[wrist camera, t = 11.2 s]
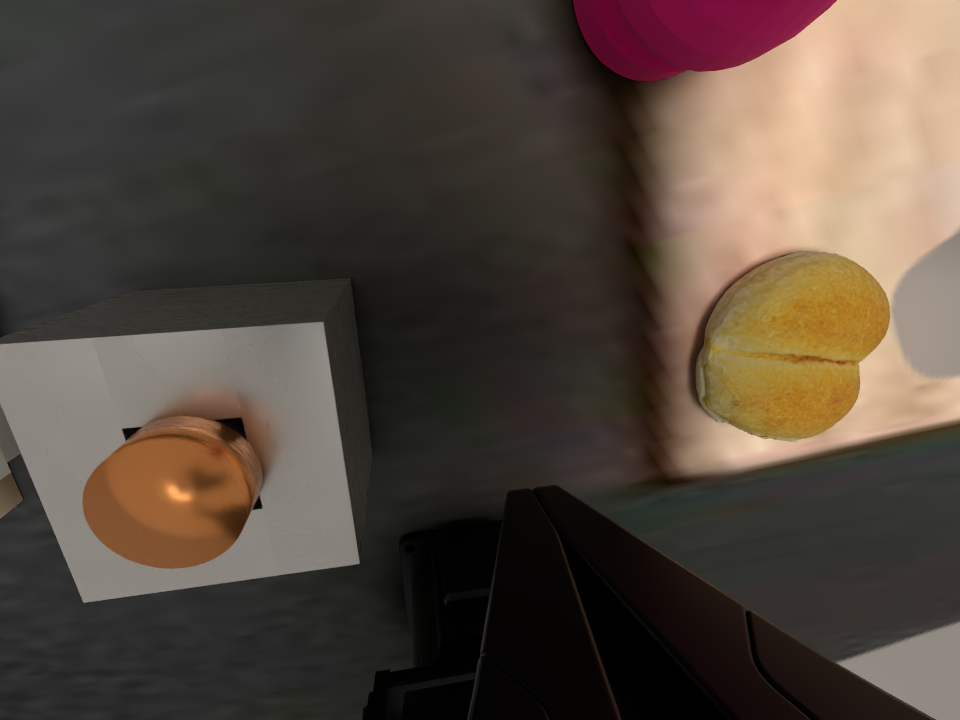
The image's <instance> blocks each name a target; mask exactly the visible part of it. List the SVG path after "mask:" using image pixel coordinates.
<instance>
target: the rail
mask: <svg viewBox="0 0 960 720" xmlns="http://www.w3.org/2000/svg"><path fill="white" fill-rule="evenodd" d="M9 469H10V468H9ZM22 501H23V498H22V496H21V494H20V491H19V489H18V487H17V485H16V482H15V480H14V478H13V475H12V473H9V474H8V475H7V476H5V477H4V478H2V479H1V480H0V518H2V517H3V516H4V515H5V514H7V513H8V512H9V511H10V510H12V509H13V508H14V507H15V506H17V505H18V504H19V503H20V502H22Z"/></svg>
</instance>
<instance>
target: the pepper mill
mask: <svg viewBox="0 0 960 720" xmlns="http://www.w3.org/2000/svg"><path fill="white" fill-rule="evenodd" d="M836 1H837V0H573V3H574V8H575V13H576V18H577V21H578V24H579V27H580V29H581V32H582V34H583V36H584V39H585V40H586V42H587V44H588V45H589V47H590V49H591V50H592V52H593V53H594V54H595V56H596V57H597V58H598V59H599V60H600V61H601V62H602V63H603V64H604V65H605V66H607V67H608V68H609V69H611V70H612V71H614V72H615V73H617V74H619V75H621V76H623V77H625V78H629V79H632V80H638V81H644V82H645V81H658V80H663V79H666V78H669V77H672V76H675V75H677V74H679V73H682V72H684V71H686V70H693V71H717V70H723V69H727V68H731V67H736V66H739V65H742V64H744V63H746V62H749V61H751V60H753V59H755V58H757V57H759V56H761V55H763V54H764V53H766V52H768V51H770V50H771V49H773V48H775V47H777V46H779V45H780V44H782V43H784V42H786V41H787V40H789V39H791V38H793V37H795V36H796V35H797V34H798V33H799V32H801V31H802V30H803V29H804V28H806V27H807V26H808V25H809V24H810V23H812V22H813V21H814V20H815V19H817V18H818V17H819V16H820V15H821V14H823V13H824V12H825V11H826V10H828V9H829V8H830V7H831V6H832V5H833V4H834V3H835V2H836Z"/></svg>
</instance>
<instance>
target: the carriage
mask: <svg viewBox="0 0 960 720" xmlns="http://www.w3.org/2000/svg"><path fill="white" fill-rule="evenodd" d="M20 453H21V452H20V450H19V447H18V445H17V442H16V440H15V438H14V435H13V433H12V430H11V428H10V426H9V423H8V421H7V419H6V416H5V414H4V411H3V409H2V407H1V404H0V480H1V479H2V478H4V477H5V476H7V475H8V474H9V473H11V471H10V469H9V466H8V464H7V462H9V461H10V460H12V459H13V458H15V457H16V456H17V455H19V454H20Z"/></svg>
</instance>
